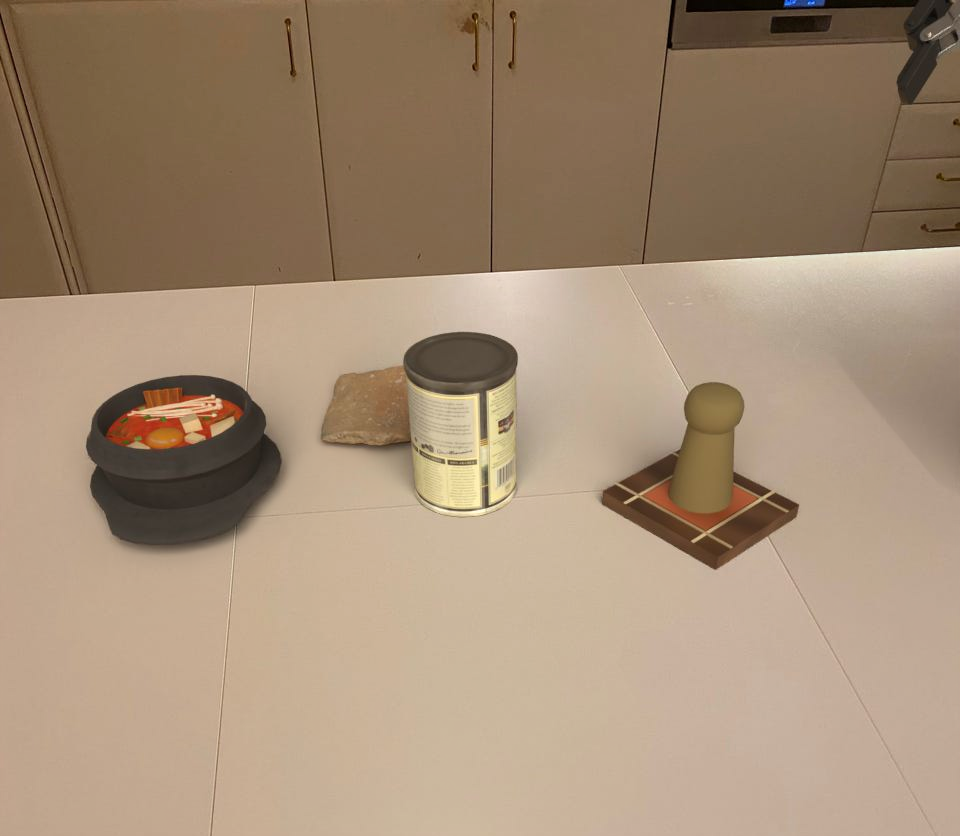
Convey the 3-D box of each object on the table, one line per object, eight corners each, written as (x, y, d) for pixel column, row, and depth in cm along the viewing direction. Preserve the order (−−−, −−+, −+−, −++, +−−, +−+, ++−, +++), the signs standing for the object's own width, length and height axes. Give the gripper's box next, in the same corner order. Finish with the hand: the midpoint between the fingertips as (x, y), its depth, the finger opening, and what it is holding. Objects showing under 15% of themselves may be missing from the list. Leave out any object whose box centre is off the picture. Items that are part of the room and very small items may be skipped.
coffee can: (423, 457, 102) (414, 328, 93) (522, 463, 101) (523, 333, 91) (403, 514, 95) (392, 380, 85) (510, 521, 93) (510, 386, 84)
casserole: (116, 429, 107) (94, 357, 102) (287, 416, 109) (275, 344, 103) (73, 569, 89) (44, 492, 83) (280, 552, 90) (265, 474, 85)
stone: (438, 389, 113) (437, 363, 111) (408, 460, 102) (406, 432, 99) (345, 383, 114) (342, 357, 112) (306, 452, 103) (301, 425, 101)
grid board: (682, 459, 101) (684, 445, 100) (796, 517, 93) (800, 503, 92) (601, 504, 95) (602, 490, 94) (715, 570, 87) (718, 556, 86)
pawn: (666, 510, 92) (680, 404, 84) (669, 475, 96) (682, 371, 89) (732, 516, 91) (752, 409, 83) (732, 480, 95) (751, 375, 88)
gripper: (1183, -45, 71) (1049, 158, 74) (996, -63, 80) (880, 120, 82) (1188, -132, 65) (1041, 93, 68) (985, -142, 73) (860, 58, 76)
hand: (953, 107), depth 75 cm, fingers open, 8 cm apart
